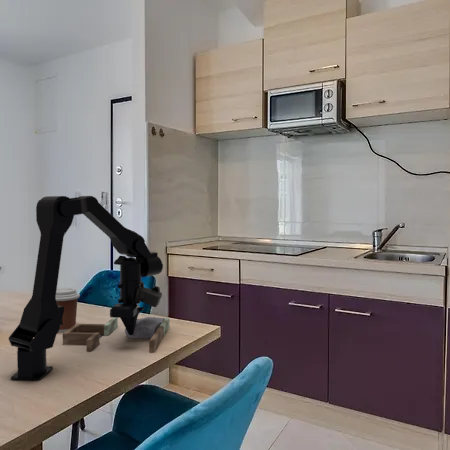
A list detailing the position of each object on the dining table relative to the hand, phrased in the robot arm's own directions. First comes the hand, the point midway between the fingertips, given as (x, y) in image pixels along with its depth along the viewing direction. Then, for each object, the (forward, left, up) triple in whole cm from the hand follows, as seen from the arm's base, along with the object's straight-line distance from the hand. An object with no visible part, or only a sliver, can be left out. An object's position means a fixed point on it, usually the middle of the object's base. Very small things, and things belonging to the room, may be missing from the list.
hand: (131, 334), depth 115 cm
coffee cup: (+9, +23, -1) cm, 25 cm away
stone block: (+7, -2, -2) cm, 7 cm away
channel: (+1, +4, -1) cm, 4 cm away
